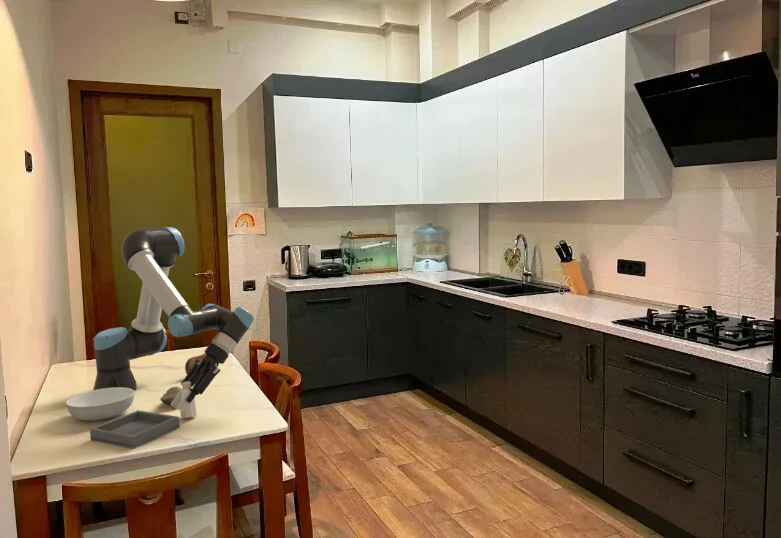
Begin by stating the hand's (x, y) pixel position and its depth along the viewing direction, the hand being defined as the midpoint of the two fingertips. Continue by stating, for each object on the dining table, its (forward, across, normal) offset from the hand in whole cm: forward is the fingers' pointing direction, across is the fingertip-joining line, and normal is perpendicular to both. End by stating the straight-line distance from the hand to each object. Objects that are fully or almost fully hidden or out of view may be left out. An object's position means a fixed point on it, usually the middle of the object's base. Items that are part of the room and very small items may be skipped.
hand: (176, 408), depth 202 cm
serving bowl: (+14, +25, +7) cm, 30 cm away
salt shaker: (0, 0, -5) cm, 5 cm away
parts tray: (+13, -1, +7) cm, 15 cm away
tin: (-19, +46, -26) cm, 56 cm away
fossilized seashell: (-1, +17, -8) cm, 19 cm away
